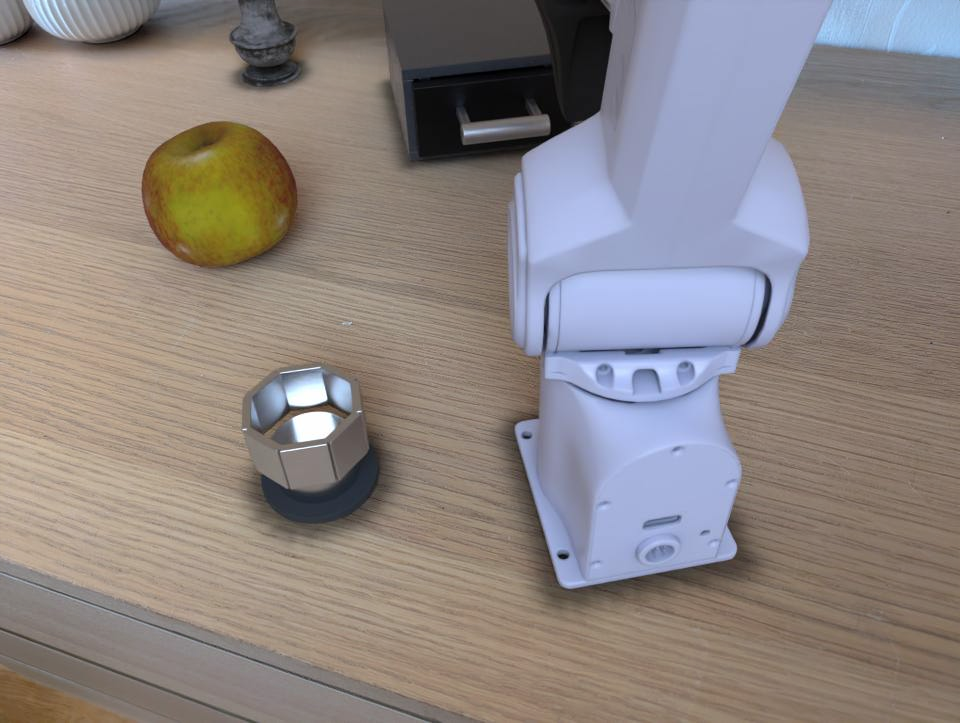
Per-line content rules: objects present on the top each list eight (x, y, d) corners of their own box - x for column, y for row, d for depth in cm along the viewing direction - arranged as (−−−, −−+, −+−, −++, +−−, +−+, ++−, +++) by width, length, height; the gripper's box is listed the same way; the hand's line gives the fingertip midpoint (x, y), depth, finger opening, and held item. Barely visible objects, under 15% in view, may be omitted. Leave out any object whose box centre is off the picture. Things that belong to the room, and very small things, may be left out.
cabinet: (573, 142, 63) (578, 50, 58) (410, 161, 61) (401, 69, 56) (532, 68, 72) (534, -16, 67) (390, 83, 71) (381, -1, 66)
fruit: (218, 197, 58) (188, 90, 53) (332, 219, 56) (312, 109, 50) (134, 276, 52) (89, 164, 46) (258, 305, 49) (226, 189, 44)
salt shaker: (224, 81, 72) (187, -66, 64) (262, 55, 76) (231, -87, 68) (281, 92, 70) (250, -59, 62) (317, 64, 74) (292, -81, 66)
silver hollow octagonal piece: (377, 504, 38) (365, 438, 35) (263, 523, 37) (240, 458, 34) (368, 422, 41) (355, 356, 38) (264, 438, 41) (243, 372, 38)
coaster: (384, 513, 38) (383, 506, 38) (262, 533, 37) (260, 527, 37) (373, 425, 42) (372, 418, 42) (263, 442, 41) (261, 435, 41)
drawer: (586, 168, 58) (591, 97, 54) (427, 188, 57) (421, 116, 53) (532, 69, 70) (533, 6, 66) (399, 84, 69) (393, 20, 65)
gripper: (752, -137, 32) (698, 172, 41) (633, -204, 42) (611, 55, 51) (576, -123, 31) (561, 189, 40) (499, -195, 41) (501, 67, 51)
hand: (581, 115), depth 46 cm, fingers closed
